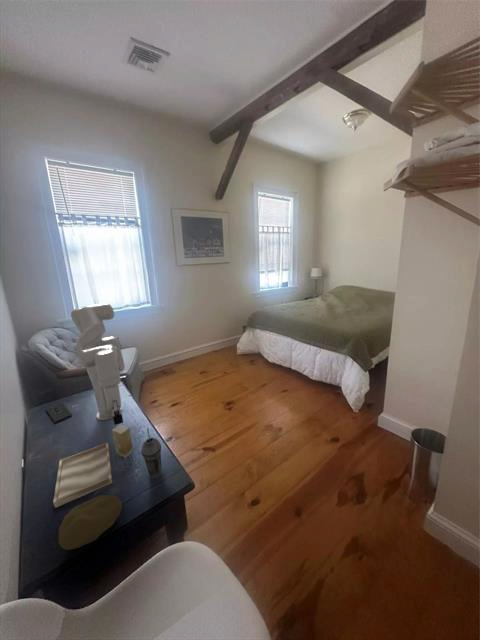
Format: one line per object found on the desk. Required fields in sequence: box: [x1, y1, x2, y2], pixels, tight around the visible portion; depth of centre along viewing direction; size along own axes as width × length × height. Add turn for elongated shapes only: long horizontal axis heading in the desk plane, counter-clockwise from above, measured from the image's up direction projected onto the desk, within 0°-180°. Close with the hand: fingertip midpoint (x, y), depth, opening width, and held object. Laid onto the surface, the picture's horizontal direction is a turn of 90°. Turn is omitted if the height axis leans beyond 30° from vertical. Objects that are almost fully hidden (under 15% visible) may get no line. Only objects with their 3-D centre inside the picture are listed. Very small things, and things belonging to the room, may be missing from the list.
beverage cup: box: [140, 427, 163, 479], centre depth 96 cm, size 7×7×20 cm
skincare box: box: [111, 423, 134, 459], centre depth 109 cm, size 6×4×12 cm
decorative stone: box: [58, 494, 123, 551], centre depth 77 cm, size 17×11×10 cm, turn 131°
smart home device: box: [45, 402, 72, 424], centre depth 143 cm, size 8×2×20 cm
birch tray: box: [52, 442, 113, 508], centre depth 100 cm, size 22×18×2 cm
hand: (117, 417), depth 105 cm, fingers open, 9 cm apart
